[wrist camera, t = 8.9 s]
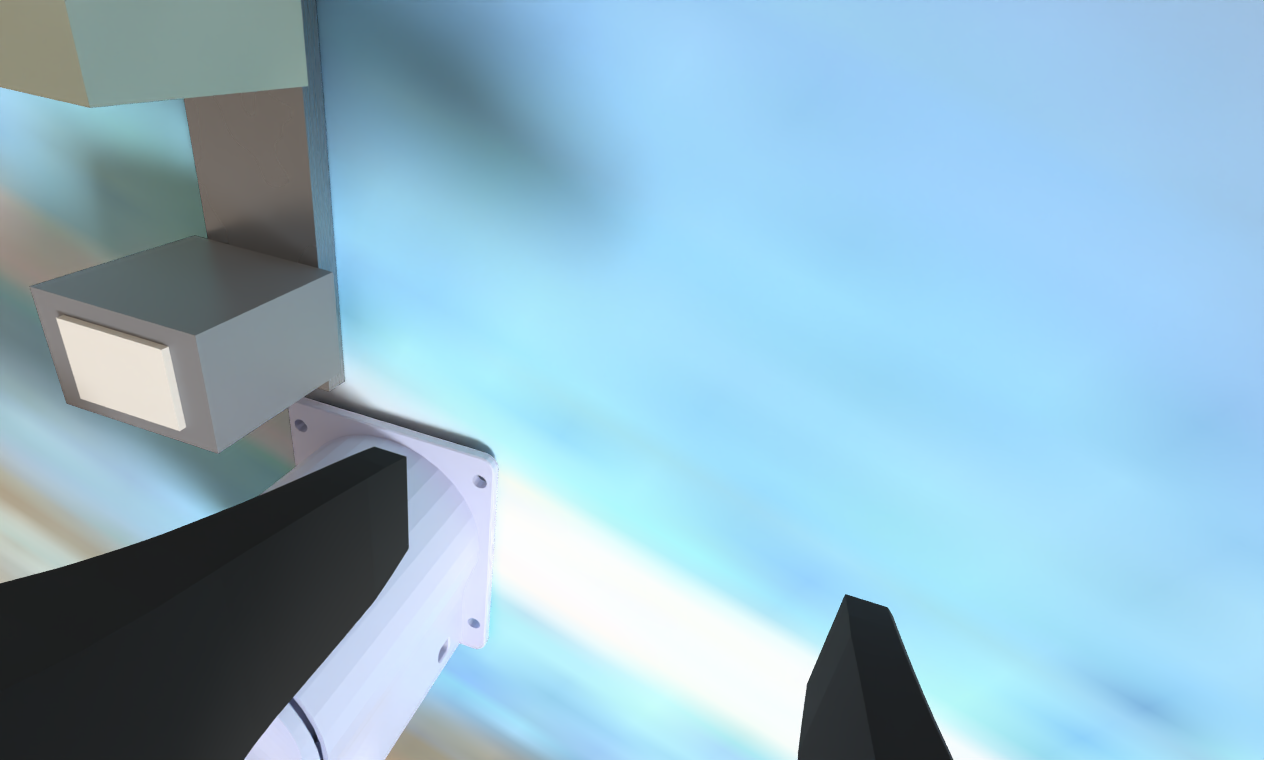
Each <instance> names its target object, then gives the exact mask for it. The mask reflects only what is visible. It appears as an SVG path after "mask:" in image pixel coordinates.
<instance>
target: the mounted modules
mask: <svg viewBox="0 0 1264 760" xmlns="http://www.w3.org/2000/svg"><path fill="white" fill-rule="evenodd" d="M29 287H30V290H31V293H32V296H33V299H34V302H35V306H36V309H37V312H38V315H39V318H40V321H41V325H42V328H43V331H44V334H45V337H46V340H47V343H48V347H49V350H50V353H51V356H52V359H53V362H54V365H55V369H56V372H57V375H58V378H59V381H60V384H61V387H62V391H63V394H64V397H65V400H66V403H67V404H70V405H73V406H76V407H79V408H82V409H85V410H88V411H91V412H94V413H97V414H100V415H103V416H106V417H109V418H112V419H115V420H118V421H121V422H124V423H127V424H130V425H133V426H136V427H139V428H142V429H145V430H148V431H151V432H154V433H157V434H160V435H163V436H166V437H169V438H172V439H175V440H178V441H181V442H184V443H187V444H190V445H193V446H196V447H199V448H203V449H206V450H209V451H212V452H215V453H218V454H219V453H220V452H222V451H223V450H225V449H226V448H228V447H229V446H231V445H232V444H234V443H235V442H237V441H238V440H240V439H241V438H243V437H244V436H246V435H247V434H249V433H250V432H252V431H253V430H255V429H256V428H258V427H259V426H261V425H262V424H264V423H265V422H267V421H268V420H270V419H271V418H273V417H274V416H276V415H277V414H279V413H280V412H282V411H283V410H285V409H286V408H288V407H289V406H291V405H292V404H294V403H295V402H297V401H298V400H300V399H301V398H303V397H304V396H306V395H307V394H309V393H310V392H312V391H313V390H315V389H316V388H318V387H319V386H321V385H322V384H324V383H325V382H327V381H328V380H330V379H331V378H333V377H334V376H336V375H337V374H339V373H340V372H341V369H340V356H339V343H338V331H337V318H336V305H335V293H334V280H333V272H331V271H327V270H323V269H320V268H316V267H312V266H308V265H304V264H301V263H297V262H293V261H289V260H286V259H282V258H278V257H274V256H271V255H267V254H263V253H259V252H255V251H252V250H248V249H244V248H240V247H237V246H233V245H229V244H225V243H222V242H218V241H214V240H210V239H206V238H203V237H199V236H195V235H194V236H191V237H188V238H185V239H181V240H178V241H175V242H172V243H168V244H165V245H162V246H159V247H155V248H152V249H149V250H146V251H142V252H139V253H136V254H133V255H130V256H126V257H123V258H120V259H117V260H113V261H110V262H107V263H104V264H100V265H97V266H94V267H91V268H88V269H84V270H81V271H78V272H75V273H71V274H68V275H65V276H62V277H58V278H55V279H52V280H49V281H45V282H42V283H39V284H36V285H33V286H29Z"/></svg>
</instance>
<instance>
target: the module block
mask: <svg viewBox="0 0 1264 760" xmlns="http://www.w3.org/2000/svg"><path fill="white" fill-rule="evenodd" d="M304 86H308V77H307V66H306V54H305V43H304V31H303V20H302V9H301V0H0V87H2V88H6V89H11V90H15V91H19V92H24V93H28V94H32V95H37V96H41V97H45V98H50V99H54V100H58V101H63V102H67V103H71V104H76V105H80V106H85V107H89V108H93V107H103V106H113V105H123V104H133V103H143V102H153V101H163V100H173V99H183V98H193V97H203V96H213V95H224V94H234V93H244V92H254V91H264V90H274V89H284V88H294V87H304Z"/></svg>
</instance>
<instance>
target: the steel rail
mask: <svg viewBox="0 0 1264 760" xmlns="http://www.w3.org/2000/svg"><path fill="white" fill-rule="evenodd" d="M301 9H302V20H303V31H304V43H305V54H306V66H307V77H308V86H304V87H294V88H284V89H274V90H264V91H254V92H244V93H234V94H224V95H213V96H203V97H193V98H184V102H185V108H186V114H187V120H188V126H189V131H190V137H191V143H192V149H193V155H194V161H195V166H196V172H197V178H198V184H199V190H200V196H201V201H202V207H203V213H204V219H205V225H206V231H207V236H208V239H210V240H214V241H218V242H222V243H225V244H229V245H233V246H237V247H240V248H244V249H248V250H252V251H255V252H259V253H263V254H267V255H271V256H274V257H278V258H282V259H286V260H289V261H293V262H297V263H301V264H304V265H308V266H312V267H316V268H320V269H323V270H327V271H331V272H333V280H334V293H335V305H336V318H337V331H338V343H339V356H340V369H341V372H340V373H339V374H337V375H336V376H334V377H333V378H331V379H330V380H328V381H327V382H325V383H324V384H322V385H321V386H319V387H318V388H319V389H323V390H326V391H329V392H330V391H331V390H333V389H334V388H336V387H337V386H338V385H340V384H341V383H343V382H344V381H345V376H344V363H343V350H342V336H341V323H340V310H339V297H338V284H337V271H336V257H335V244H334V231H333V218H332V205H331V192H330V178H329V165H328V152H327V139H326V126H325V113H324V100H323V86H322V73H321V60H320V47H319V34H318V21H317V7H316V0H301Z"/></svg>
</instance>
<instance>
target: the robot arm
mask: <svg viewBox="0 0 1264 760" xmlns="http://www.w3.org/2000/svg"><path fill="white" fill-rule="evenodd" d="M288 410H289V418H290V426H291V434H292V442H293V450H294V458H295V466H296V467H295V468H293V469H292V470H291V471H290V472H288V473H287V474H286V475H284V476H283V477H282V478H281V479H279V480H278V481H277V482H275V483H274V484H273V485H272V486H270V487H269V488H268V489H267V490H265V491H264V492H263V493H261V494H260V495H259V496H257V497H255V498H253V499H250V500H248V501H246V502H243V503H241V504H239V505H236V506H234V507H231V508H228V509H226V510H223V511H221V512H218V513H216V514H213V515H211V516H208V517H205V518H203V519H200V520H198V521H195V522H193V523H190V524H188V525H185V526H182V527H180V528H177V529H175V530H172V531H170V532H167V533H164V534H162V535H159V536H156V537H153V538H150V539H148V540H145V541H142V542H139V543H136V544H133V545H130V546H127V547H124V548H121V549H118V550H115V551H112V552H109V553H106V554H102V555H99V556H96V557H93V558H90V559H87V560H84V561H80V562H77V563H74V564H71V565H67V566H64V567H60V568H57V569H53V570H49V571H46V572H42V573H38V574H34V575H31V576H27V577H23V578H19V579H15V580H12V581H8V582H4V583H0V760H385V758H386V757H387V755H388V754H389V752H390V751H391V749H392V748H393V746H394V744H395V743H396V741H397V740H398V738H399V737H400V735H401V734H402V732H403V730H404V729H405V727H406V726H407V724H408V723H409V721H410V719H411V718H412V716H413V715H414V713H415V712H416V710H417V709H418V707H419V705H420V704H421V702H422V701H423V699H424V698H425V696H426V695H427V693H428V691H429V690H430V688H431V687H432V685H433V684H434V682H435V681H436V679H437V677H438V676H439V674H440V673H441V671H442V670H443V668H444V667H445V665H446V663H447V662H448V660H449V659H450V657H451V656H452V654H453V652H454V651H455V649H456V648H457V646H458V645H459V643H460V644H463V645H466V646H469V647H471V648H475V649H480V648H483V647H484V646H485V644H486V642H487V641H488V638H489V622H490V605H491V588H492V571H493V553H494V536H495V519H496V502H497V485H498V463H497V462H496V460H495V459H494V458H493V457H492V456H491V455H490V454H487V453H485V452H482V451H479V450H476V449H472V448H469V447H466V446H462V445H459V444H456V443H453V442H449V441H446V440H443V439H439V438H436V437H433V436H430V435H426V434H423V433H420V432H417V431H413V430H410V429H407V428H403V427H400V426H397V425H394V424H390V423H387V422H384V421H381V420H377V419H374V418H371V417H367V416H364V415H361V414H358V413H354V412H351V411H348V410H344V409H341V408H338V407H335V406H331V405H328V404H325V403H322V402H318V401H315V400H312V399H308V398H305V397H303V398H301V399H300V400H298V401H297V402H295V403H294V404H292V405H291V406H289V408H288ZM303 421H304V422H305V423H304V422H303ZM479 476H481V477H483V478H484V479H485V480H486V482H485V481H483V480H481V479H480V477H479ZM798 760H953V758H952V756H951V754H950V752H949V749H948V747H947V745H946V743H945V741H944V739H943V736H942V734H941V732H940V730H939V728H938V726H937V723H936V721H935V719H934V717H933V714H932V712H931V710H930V708H929V705H928V703H927V701H926V698H925V696H924V694H923V691H922V689H921V686H920V684H919V682H918V679H917V677H916V674H915V672H914V670H913V667H912V665H911V662H910V660H909V657H908V655H907V652H906V650H905V647H904V644H903V642H902V639H901V637H900V634H899V631H898V629H897V626H896V623H895V621H894V618H893V616H892V614H891V612H890V610H889V609H888V607H885V606H881V605H878V604H875V603H872V602H869V601H865V600H862V599H859V598H856V597H853V596H850V595H846V594H845V596H844V598H843V601H842V603H841V605H840V608H839V610H838V612H837V615H836V617H835V620H834V622H833V624H832V627H831V629H830V631H829V634H828V636H827V638H826V641H825V643H824V645H823V648H822V650H821V653H820V655H819V657H818V660H817V662H816V664H815V667H814V669H813V671H812V674H811V676H810V678H809V681H808V683H807V689H806V696H805V703H804V710H803V718H802V725H801V734H800V742H799V750H798Z"/></svg>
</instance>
